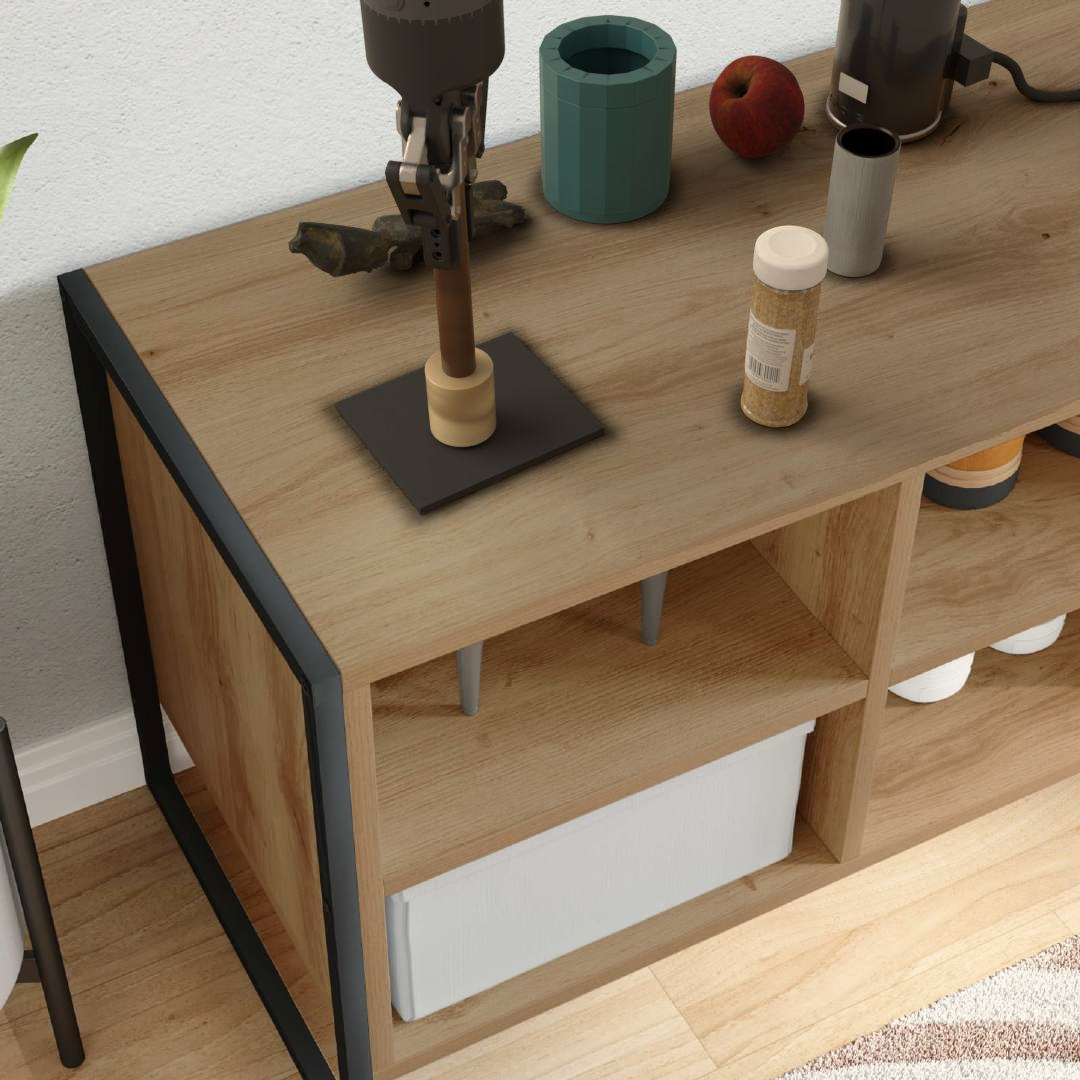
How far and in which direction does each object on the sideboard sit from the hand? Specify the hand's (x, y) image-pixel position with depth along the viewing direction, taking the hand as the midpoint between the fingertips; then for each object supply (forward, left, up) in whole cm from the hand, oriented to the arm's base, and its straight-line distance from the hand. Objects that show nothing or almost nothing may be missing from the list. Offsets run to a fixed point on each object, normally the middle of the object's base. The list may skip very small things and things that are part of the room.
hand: (450, 250), depth 94 cm
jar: (-24, -19, -15) cm, 34 cm away
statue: (-6, -19, -15) cm, 25 cm away
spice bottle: (-19, +9, -15) cm, 26 cm away
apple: (-37, -17, -15) cm, 43 cm away
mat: (-1, -1, -15) cm, 15 cm away
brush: (0, 0, -14) cm, 14 cm away
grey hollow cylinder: (-34, -1, -15) cm, 37 cm away
